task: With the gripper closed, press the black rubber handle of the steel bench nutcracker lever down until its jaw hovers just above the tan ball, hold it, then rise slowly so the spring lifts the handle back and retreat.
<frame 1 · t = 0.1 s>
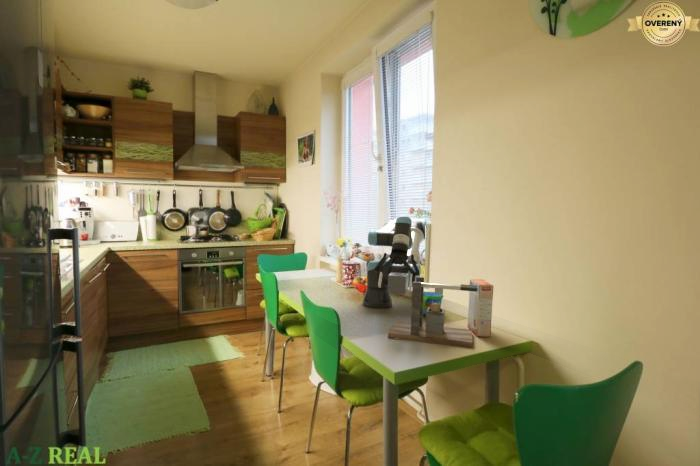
hand: (394, 287, 169), 15 cm above the table, tool tilted 35°, fingers open, 13 cm apart
tan ball: (435, 313, 152), point 9 cm above the table, touching press base
lever: (431, 285, 152), point 20 cm above the table, hinge at 0.0°
press base: (430, 336, 153), on the table
cracker box: (478, 332, 160), on the table
snack cup: (430, 315, 184), on the table
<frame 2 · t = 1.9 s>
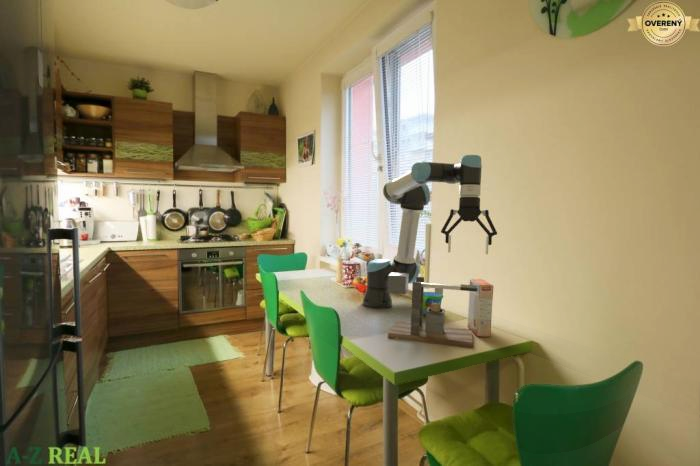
hand: (467, 253, 147), 34 cm above the table, tool pointing down, fingers open, 13 cm apart
nothing on the table moved.
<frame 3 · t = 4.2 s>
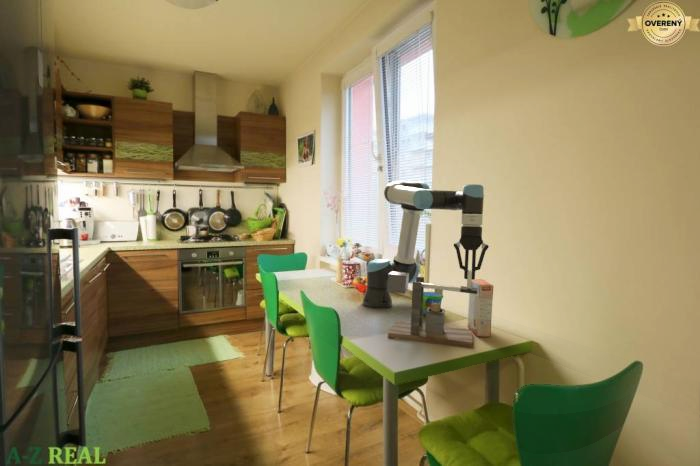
hand: (469, 287, 148), 20 cm above the table, tool pointing down, fingers closed
lever: (431, 286, 152), point 20 cm above the table, hinge at 2.5°, touching gripper
everything else where it was.
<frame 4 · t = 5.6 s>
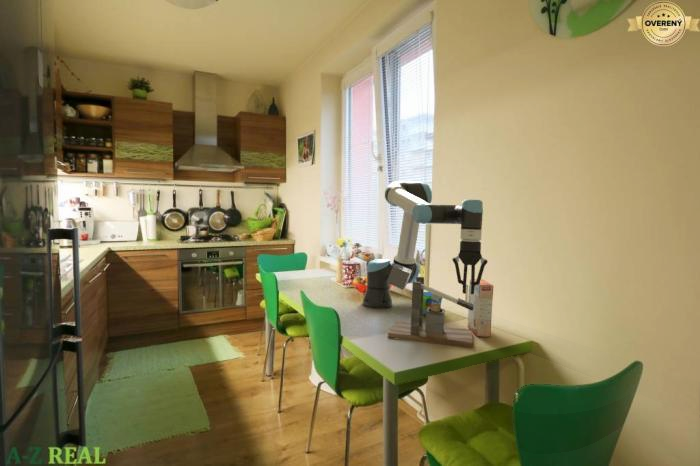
hand: (467, 302, 148), 15 cm above the table, tool pointing down, fingers closed
lever: (431, 290, 152), point 18 cm above the table, hinge at 19.7°, touching gripper
everything else where it was.
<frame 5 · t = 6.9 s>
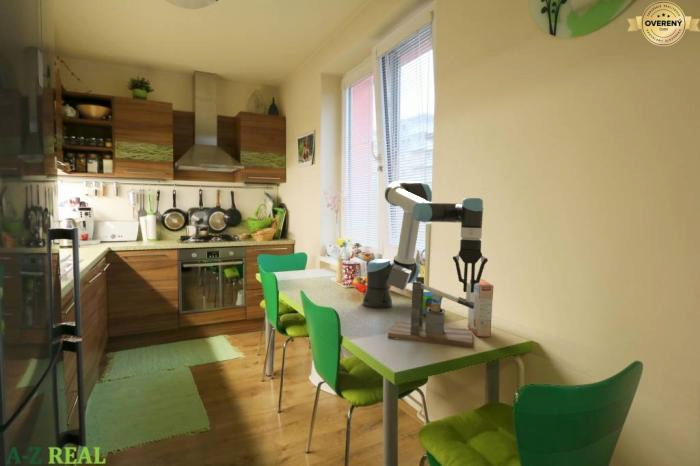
hand: (468, 300, 148), 15 cm above the table, tool pointing down, fingers closed
lever: (431, 289, 152), point 18 cm above the table, hinge at 17.8°, touching gripper
everything else where it was.
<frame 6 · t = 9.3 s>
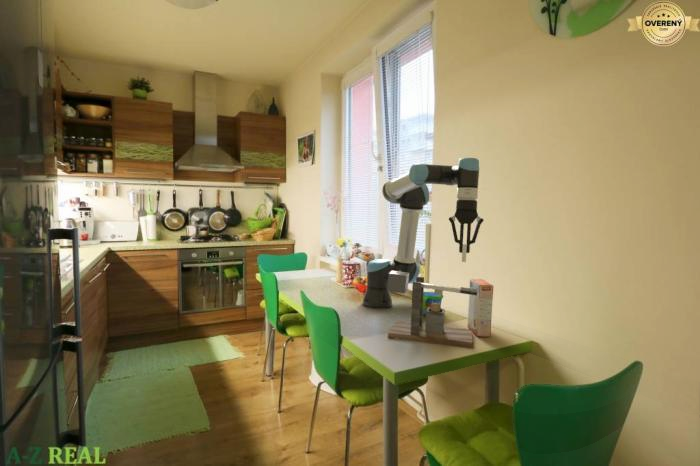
hand: (463, 261, 148), 30 cm above the table, tool pointing down, fingers closed
lever: (431, 286, 152), point 20 cm above the table, hinge at 3.9°
everything else where it was.
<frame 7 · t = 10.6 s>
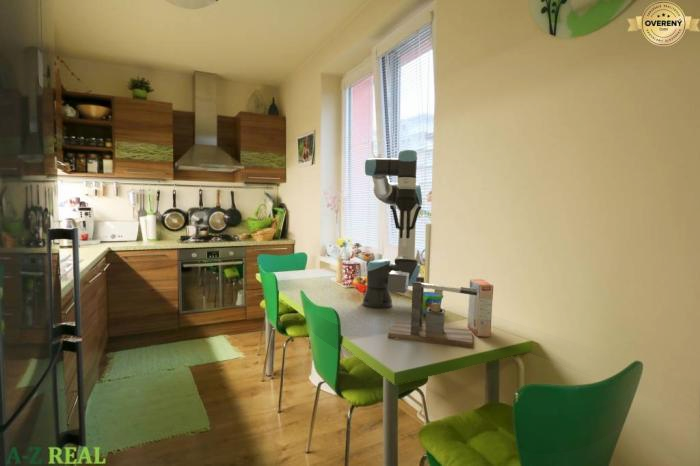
hand: (404, 246, 160), 34 cm above the table, tool pointing down, fingers closed
nothing on the table moved.
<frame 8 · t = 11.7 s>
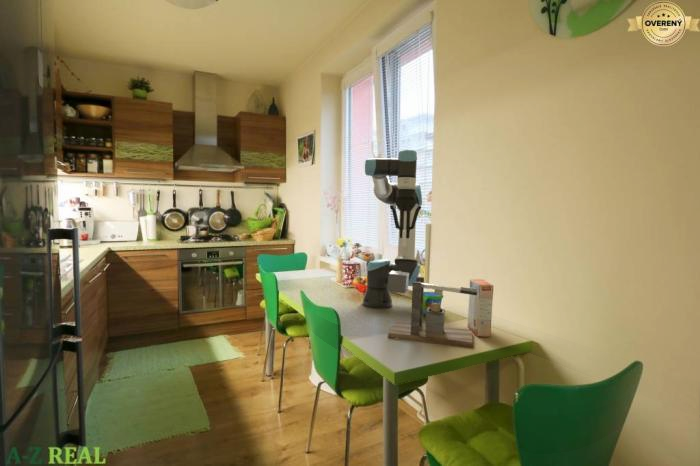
hand: (404, 246, 160), 34 cm above the table, tool pointing down, fingers closed
nothing on the table moved.
at the end: lever at +4° (first picture: +0°); tan ball moved 0.1 cm from its start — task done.
